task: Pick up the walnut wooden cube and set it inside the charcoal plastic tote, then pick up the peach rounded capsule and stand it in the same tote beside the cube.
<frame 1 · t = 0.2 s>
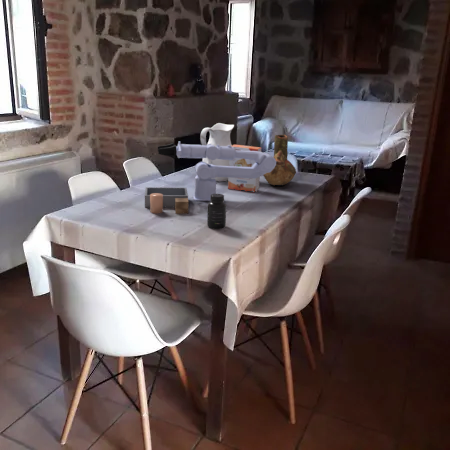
hand: (158, 150, 203), 21 cm above the table, tool horizontal, fingers open, 7 cm apart
cube: (181, 211, 193), on the table
ceramic vessel: (277, 185, 242), on the table
cracker box: (243, 190, 231), on the table
peach rounded capsule: (156, 211, 192), on the table
tote: (166, 202, 204), on the table
supplement bottle: (216, 227, 178), on the table
pitcher: (214, 180, 247), on the table
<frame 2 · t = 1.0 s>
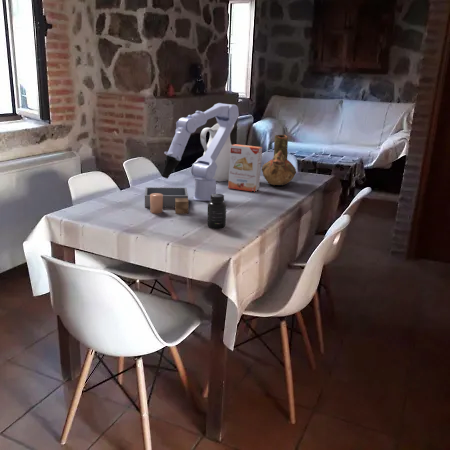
hand: (165, 176, 192), 13 cm above the table, tool tilted 30°, fingers open, 7 cm apart
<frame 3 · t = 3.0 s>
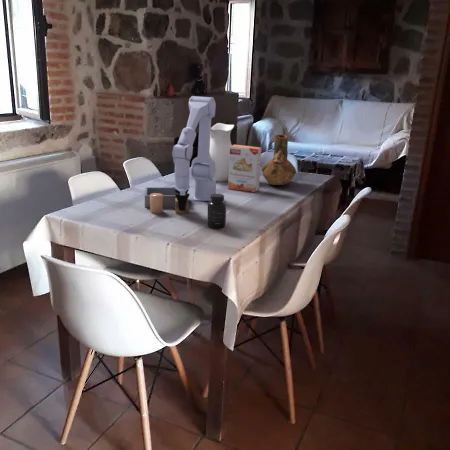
hand: (181, 208, 193), 1 cm above the table, tool pointing down, fingers closed on cube, 5 cm apart
cube: (181, 211, 193), on the table, touching gripper
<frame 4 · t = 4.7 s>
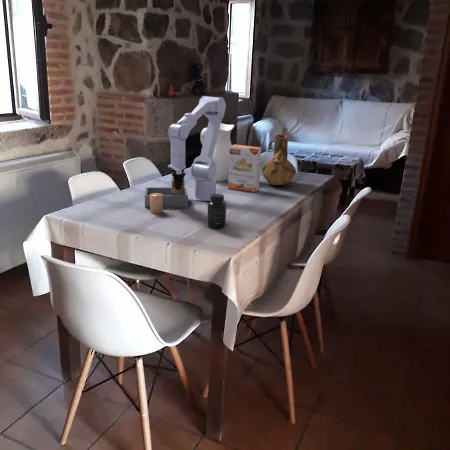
hand: (177, 187, 196), 8 cm above the table, tool pointing down, fingers closed on cube, 5 cm apart
cube: (177, 191, 197), point 7 cm above the table, touching gripper
everything else where it was.
when the fingers open (3 cm above the table, at t = 6.6 s): cube drops 1 cm, resting on tote.
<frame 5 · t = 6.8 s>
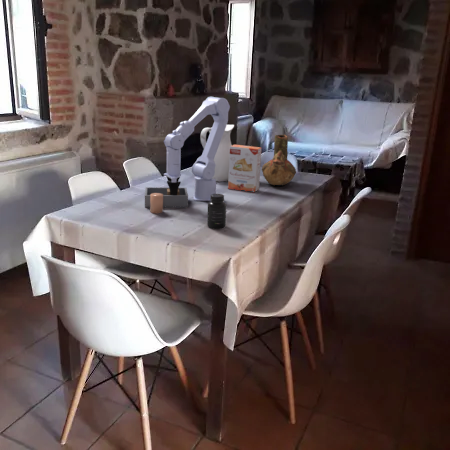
hand: (173, 195, 203), 3 cm above the table, tool pointing down, fingers open, 7 cm apart
cube: (173, 201, 204), point 1 cm above the table, touching tote
everything else where it was.
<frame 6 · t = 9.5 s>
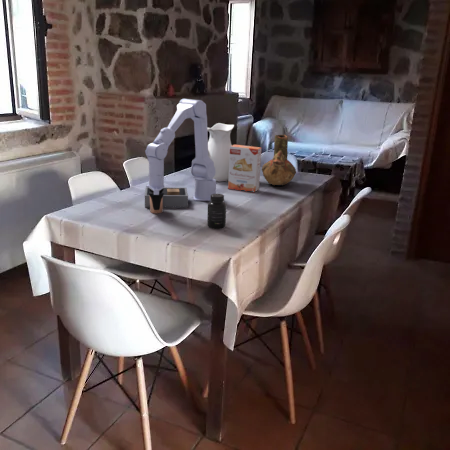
hand: (156, 207, 191), 2 cm above the table, tool pointing down, fingers closed on peach rounded capsule, 5 cm apart
peach rounded capsule: (156, 211, 192), on the table, touching gripper
everything else where it was.
when the fingers open (4 cm above the table, at t = 13.2 s): peach rounded capsule drops 1 cm, resting on tote.
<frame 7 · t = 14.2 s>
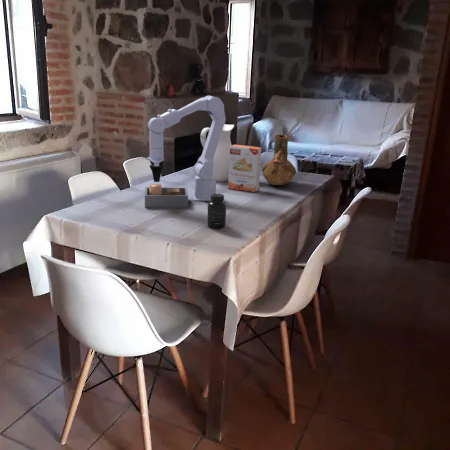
hand: (156, 179, 203), 9 cm above the table, tool pointing down, fingers open, 7 cm apart
peach rounded capsule: (155, 201, 203), point 1 cm above the table, touching tote
everything else where it was.
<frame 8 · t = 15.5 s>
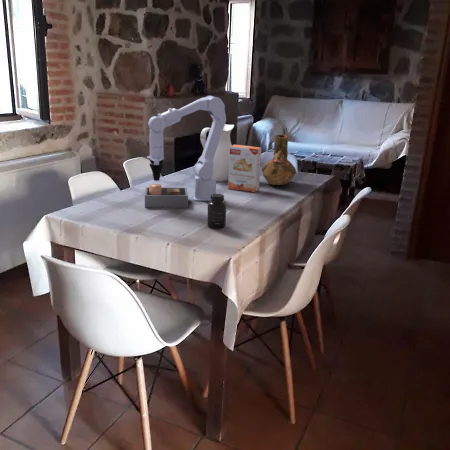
hand: (156, 178, 203), 10 cm above the table, tool pointing down, fingers open, 7 cm apart
nothing on the table moved.
at the end: cube inside the target area on the tote (2.9 cm from its centre), point 0.6 cm above the tote's base; peach rounded capsule inside the target area on the tote (4.6 cm from its centre), point 0.6 cm above the tote's base; peach rounded capsule tilted 0° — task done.
